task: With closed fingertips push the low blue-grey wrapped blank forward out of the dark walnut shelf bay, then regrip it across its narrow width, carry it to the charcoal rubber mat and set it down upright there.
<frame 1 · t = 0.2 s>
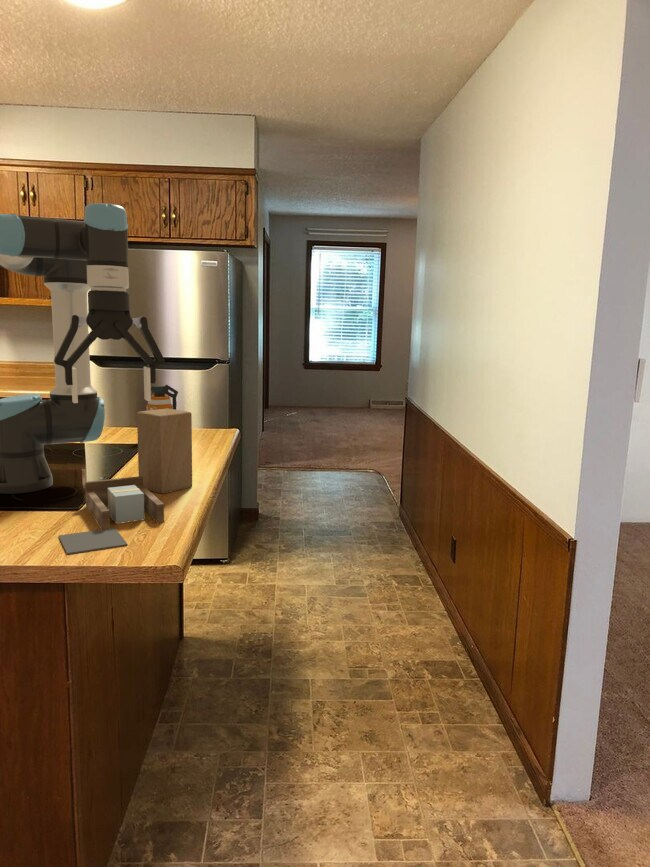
hand: (112, 401, 124), 27 cm above the countertop, fingers open, 13 cm apart
shelf bay: (124, 514, 143), on the countertop
blank: (126, 516, 141), resting in shelf bay
wooden block: (165, 488, 166), on the countertop
orange rounded handled piece: (163, 440, 231), on the countertop
mat: (92, 541, 125), on the countertop
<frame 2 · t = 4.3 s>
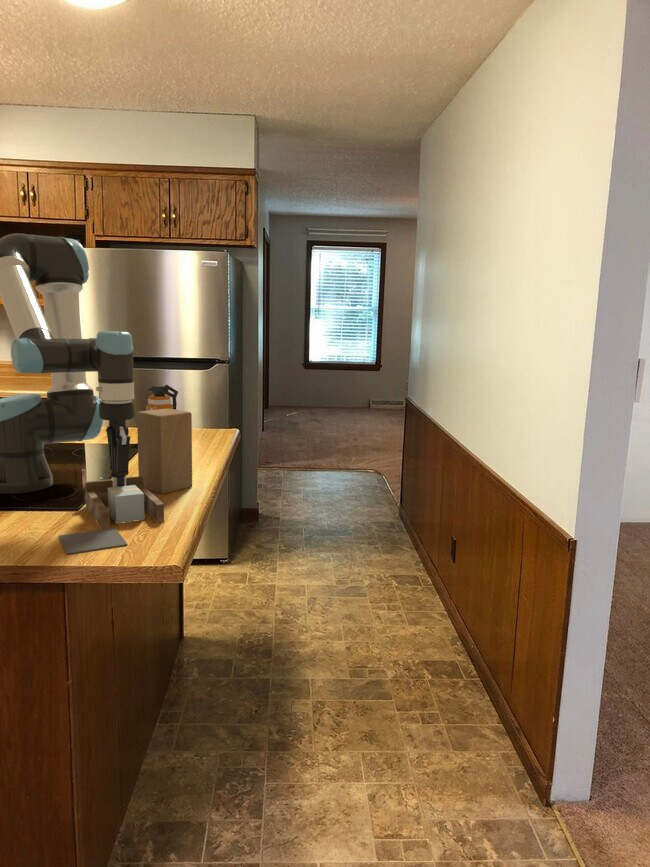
hand: (120, 503, 146), 2 cm above the countertop, fingers closed
blank: (126, 516, 141), resting in shelf bay, touching gripper
everything else where it was.
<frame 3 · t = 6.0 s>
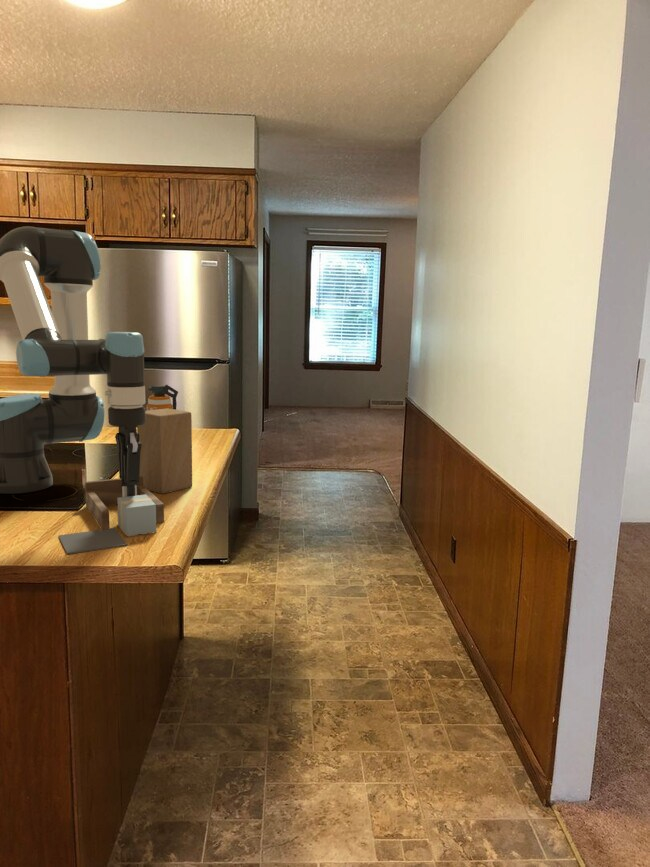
hand: (130, 513, 138), 2 cm above the countertop, fingers closed
blank: (137, 528, 133), on the countertop, touching gripper
everything else where it was.
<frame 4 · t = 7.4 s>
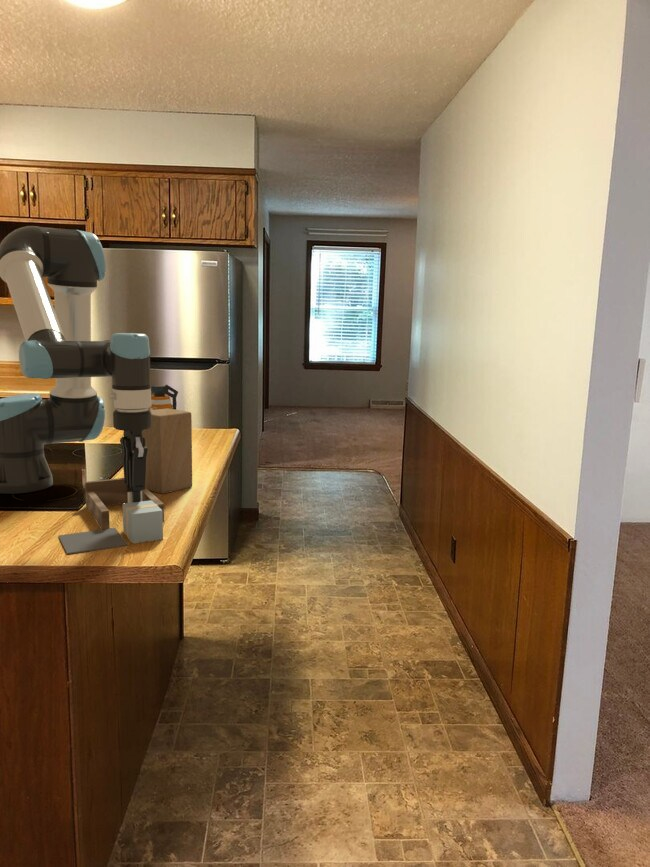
hand: (135, 519, 134), 2 cm above the countertop, fingers closed
blank: (142, 535, 129), on the countertop, touching gripper
everything else where it was.
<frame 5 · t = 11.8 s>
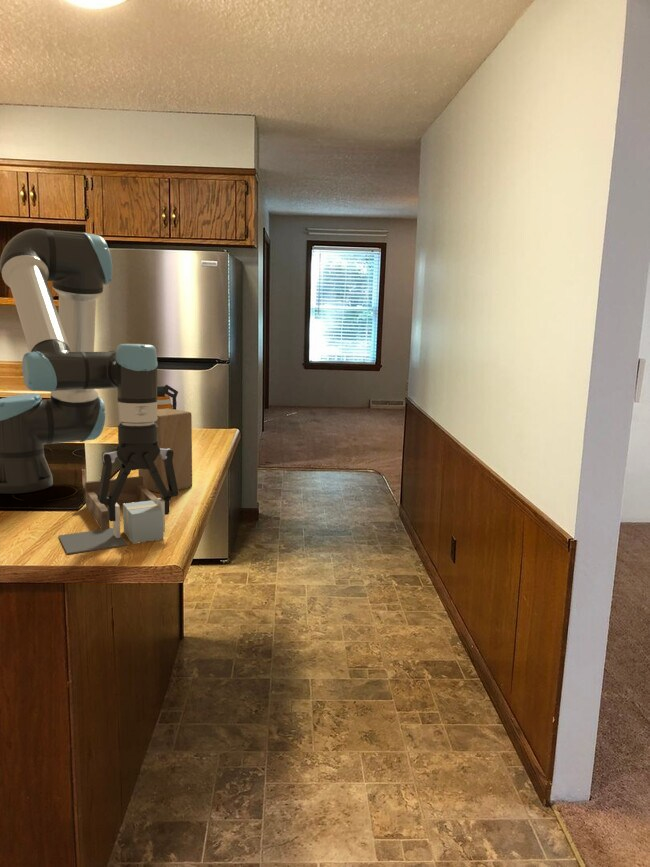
hand: (139, 532, 129), 1 cm above the countertop, fingers open, 8 cm apart
blank: (143, 535, 129), on the countertop
everything else where it was.
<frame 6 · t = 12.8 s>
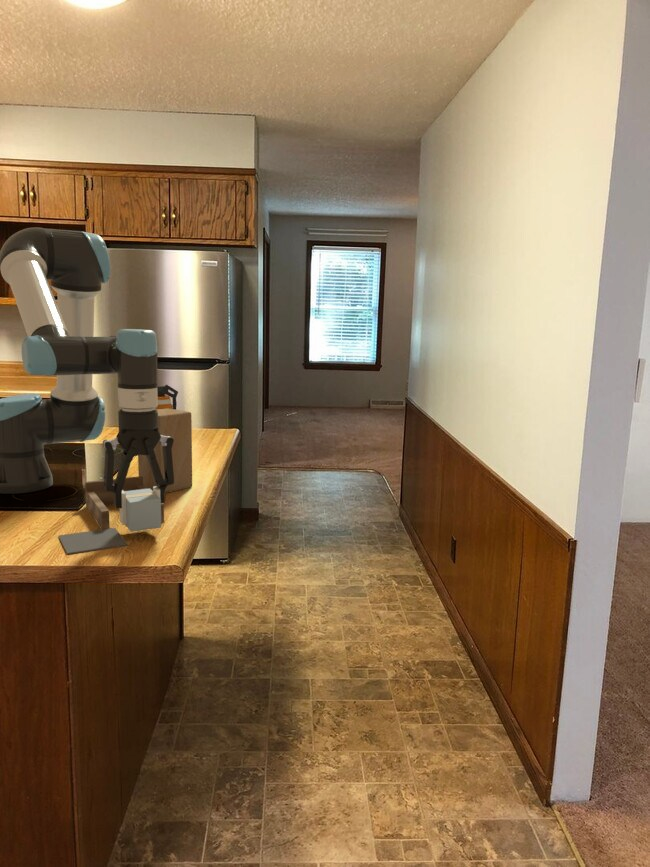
hand: (140, 520, 130), 3 cm above the countertop, fingers closed on blank, 6 cm apart
blank: (141, 523, 129), point 2 cm above the countertop, touching gripper
everything else where it was.
when the fingers open (2 cm above the countertop, at t = 16.8 s): blank drops 1 cm, resting on mat.
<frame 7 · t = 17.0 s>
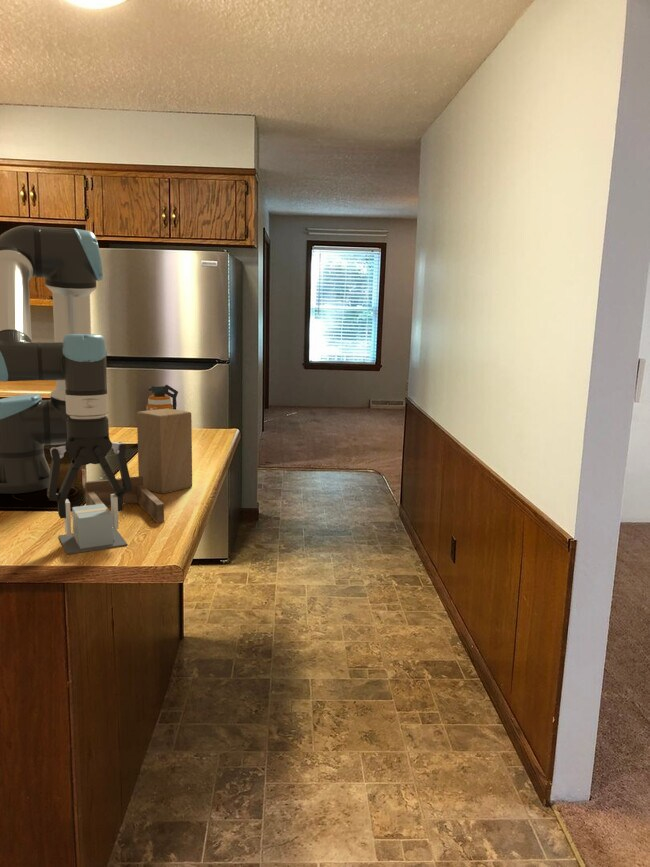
hand: (92, 530, 125), 2 cm above the countertop, fingers open, 8 cm apart
blank: (93, 540, 125), resting on mat
everything else where it was.
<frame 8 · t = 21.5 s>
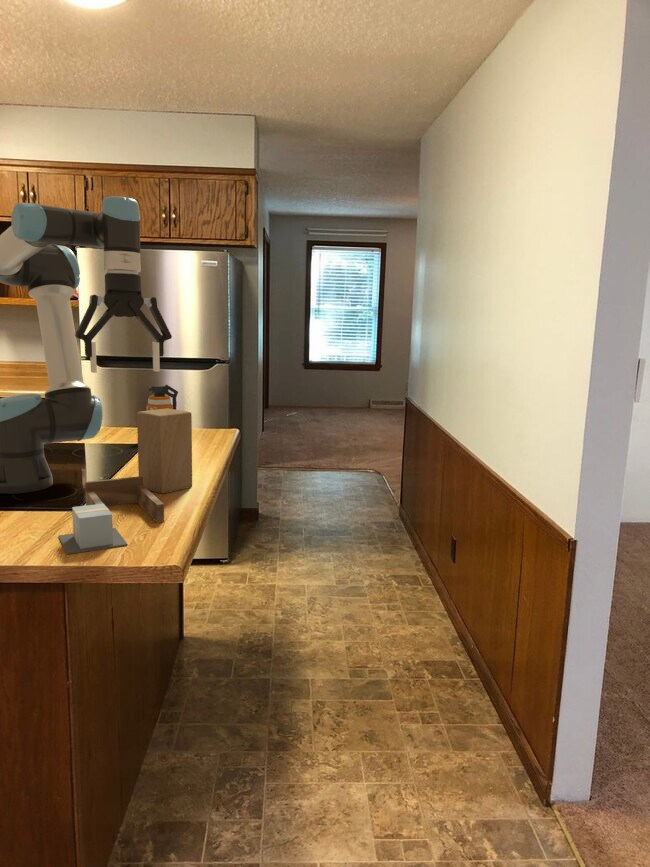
hand: (125, 371, 141), 32 cm above the countertop, fingers open, 13 cm apart
nothing on the countertop moved.
at the end: blank inside the target area on the mat (0.4 cm from its centre), point 0.3 cm above the mat's base; blank tilted 0°; the gripper is holding nothing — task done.
